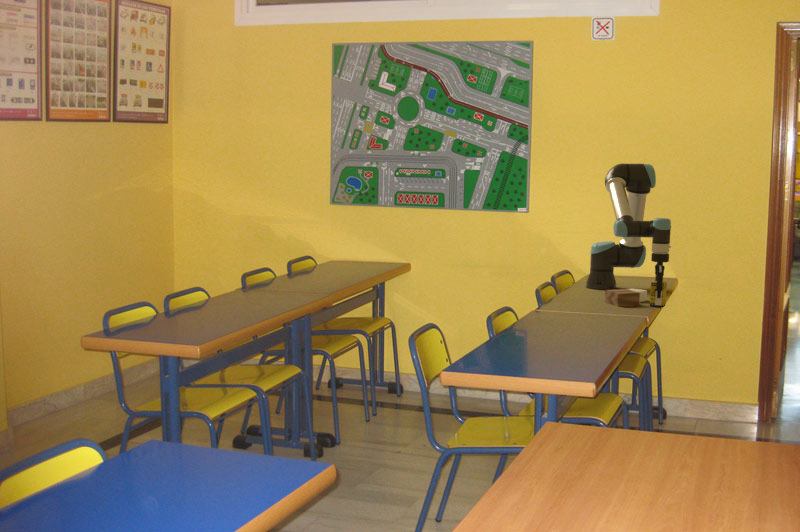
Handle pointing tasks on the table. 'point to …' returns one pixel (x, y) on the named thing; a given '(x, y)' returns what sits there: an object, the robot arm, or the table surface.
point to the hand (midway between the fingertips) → (657, 303)
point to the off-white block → (641, 294)
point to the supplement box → (653, 294)
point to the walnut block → (622, 297)
